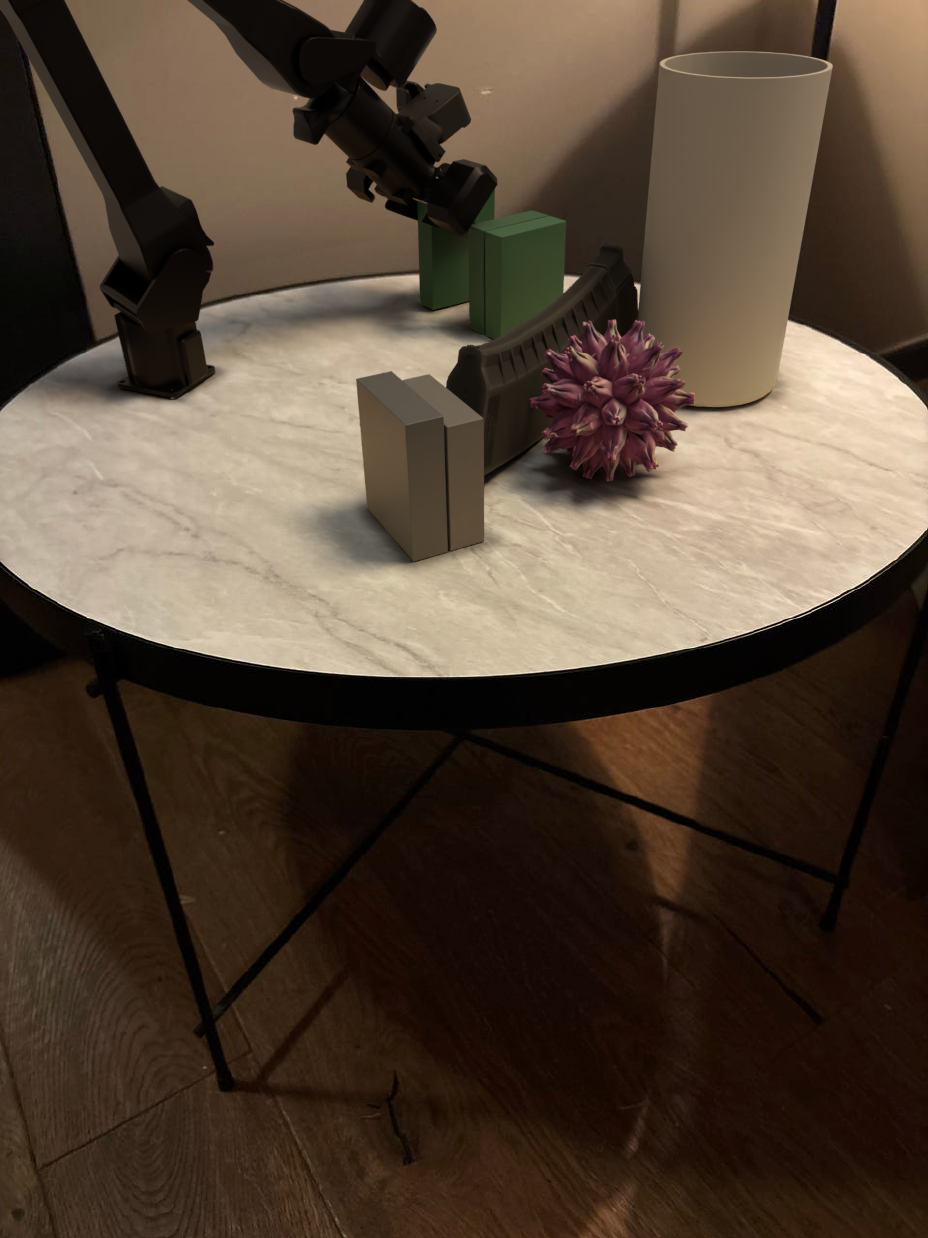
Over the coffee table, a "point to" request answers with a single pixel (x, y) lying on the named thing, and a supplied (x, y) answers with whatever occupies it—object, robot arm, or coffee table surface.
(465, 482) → the grey books
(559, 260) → the green books
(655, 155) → the cylinder vase
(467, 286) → the green book
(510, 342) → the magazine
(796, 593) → the coffee table surface
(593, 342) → the flower
